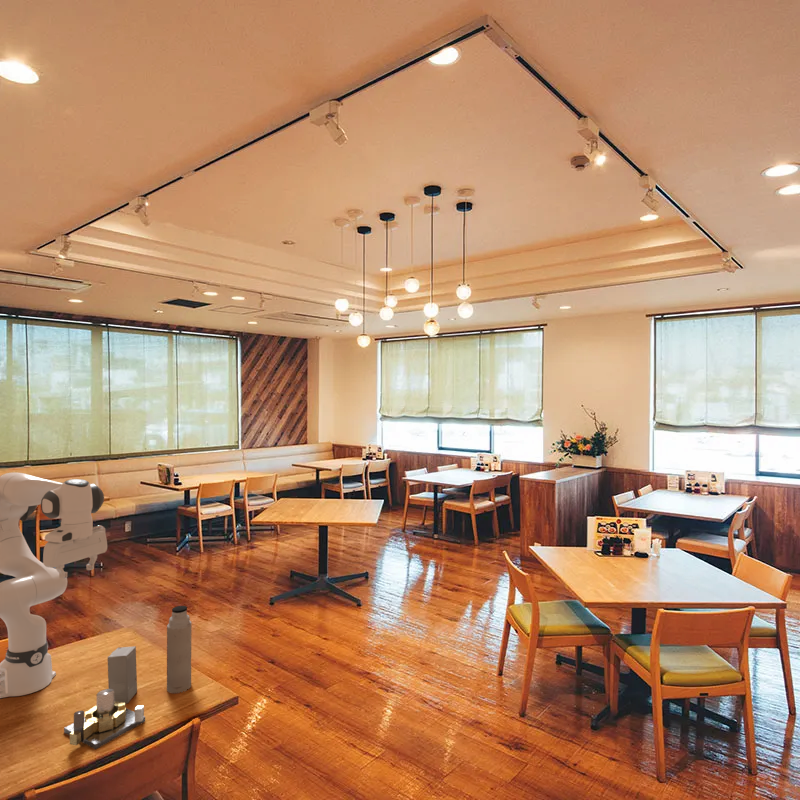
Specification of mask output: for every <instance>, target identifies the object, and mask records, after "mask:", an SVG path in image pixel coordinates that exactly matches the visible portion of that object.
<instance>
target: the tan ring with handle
mask: <svg viewBox="0 0 800 800" xmlns="http://www.w3.org/2000/svg"><path fill="white" fill-rule="evenodd" d="M126 708H127V707H126V703H125V702H123V703H122V702H116V701H114V714H113V715H112V716H109V713H108V714H104V715H103V718H101V719H100V718H97V705H94V706H93V707H91V708H89V709H88V710H87V711H85V710H78V711H75V712H74V713H73V723H74V731H73V732H71V733H70V736H69V745H73V746H78V745H79V744H81V743H82V741H83V740H85V739H86V738H87V737H89V736H90V735H91V734H93V733H94V732H96V733H97V732H98V731H99V732H102V731H106V730H110V729H113V727H117V726H118V725H120V724H121V723H122V722H123V721H125V719H126ZM84 718H85V723H84Z"/></svg>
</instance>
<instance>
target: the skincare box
mask: <svg viewBox="0 0 800 800" xmlns="http://www.w3.org/2000/svg"><path fill="white" fill-rule="evenodd" d="M137 673H138V672H137V646H121V647H120V646H119V647H117V648H116V649H114V650H113V651H112V652H111V654H110V655H109V656H107V679H108V681H107V682H108V683H107V685H108V686H107V687H108V689H113V690H114V701H116V702H122V703H123V702H125V704H129V703H130V701H131V700H132V698H133V697H134V696H135V695H136V693H137V692H138V678H137Z"/></svg>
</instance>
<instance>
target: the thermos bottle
mask: <svg viewBox="0 0 800 800" xmlns="http://www.w3.org/2000/svg"><path fill="white" fill-rule="evenodd" d="M187 610H188V606H186V605H177V606H174V607H172V608H171V616H170V617H169V619H168V624H167V625H166V690H167V692H168V693H170V694H181V693H184V692H186V691H188V690H189V689H190V688H191V687H192V621H191V620H190V618H191V617H190V615H189V614H188V613H187V612H188V611H187ZM187 689H188V690H187ZM183 691H184V692H183ZM180 692H181V693H180Z"/></svg>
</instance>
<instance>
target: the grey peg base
mask: <svg viewBox="0 0 800 800" xmlns="http://www.w3.org/2000/svg"><path fill="white" fill-rule="evenodd" d="M96 706H97V718H100V719H101V718H103V715H104V714H108V713H109V716H112V715H113V714H114V690H113V689H109V688H106V689H103V690H100V691H98V692H97V693H96ZM125 708H126V719H125V721H123V722H122V723H121V724H120V725H118V726H117V727H113V729H110V730H106V731H102V732H99V731H98V732H97V733H96V732H94V733H93V734H91V735H90V736H89V737H87V738H86V739H85V740H83V741H82V742H81V743H83V744H84V745H85V746H86V745H87V746H88V747H90V748H91V749H94V750H97V749H99V748H101V747H103V746H104V745H106V744H108V743H110V742H112V741H114V740H115V739H117V738H119V737H120V736H122V735H124V734H126V733H127V732H130V731H131V730H133V729H134V728H137V726H140V725H141V724H143V723H146V716H145V715H144V714H145V705H143V704H142V705H136V706H135V708H134V711H133V710H131V709H129V708H127V707H125ZM84 723H85V717H84ZM73 731H74V722H73V723H71V724H69V725H67V726H64V728H63V733H64V735H65V734H66V735H67V736H69V737H70V733H71V732H73Z"/></svg>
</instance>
